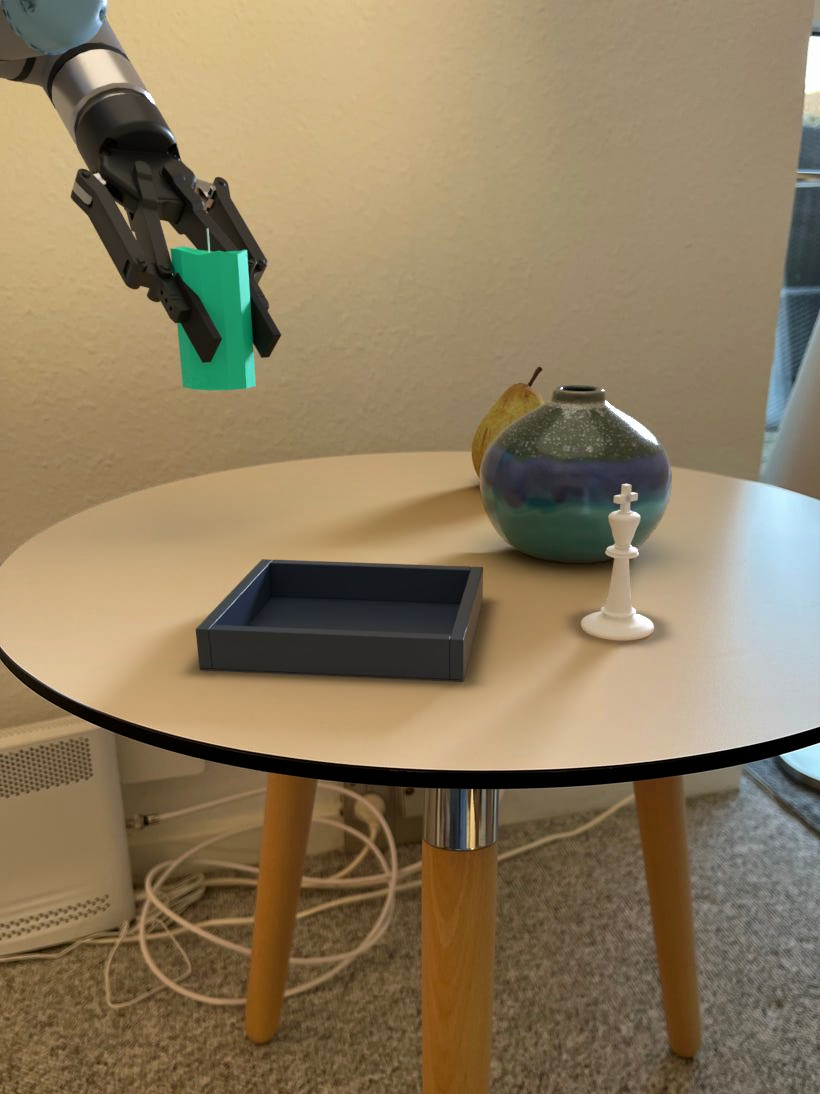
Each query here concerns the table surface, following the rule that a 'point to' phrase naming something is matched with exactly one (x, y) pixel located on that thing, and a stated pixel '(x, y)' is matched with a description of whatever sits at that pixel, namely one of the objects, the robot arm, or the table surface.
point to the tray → (346, 621)
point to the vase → (572, 477)
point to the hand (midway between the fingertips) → (242, 348)
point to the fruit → (504, 416)
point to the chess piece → (620, 580)
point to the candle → (218, 318)
